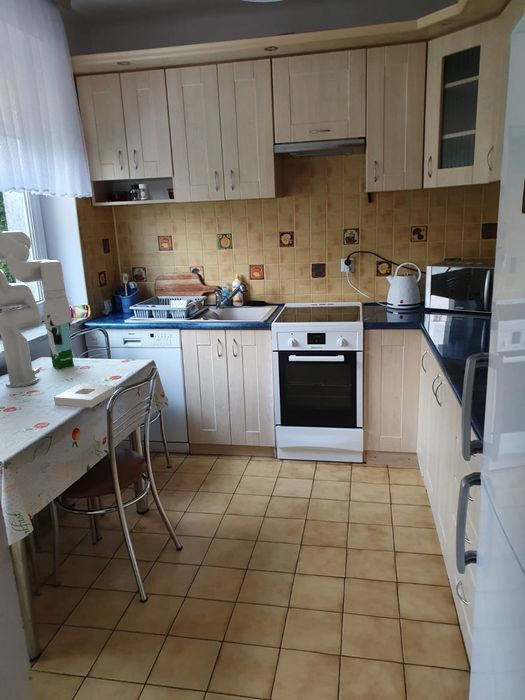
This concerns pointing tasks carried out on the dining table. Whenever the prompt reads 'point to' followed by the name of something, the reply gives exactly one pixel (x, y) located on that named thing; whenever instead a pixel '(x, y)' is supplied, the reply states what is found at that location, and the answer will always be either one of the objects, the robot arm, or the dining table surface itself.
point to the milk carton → (60, 355)
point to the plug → (64, 338)
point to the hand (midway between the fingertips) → (62, 342)
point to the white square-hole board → (84, 395)
